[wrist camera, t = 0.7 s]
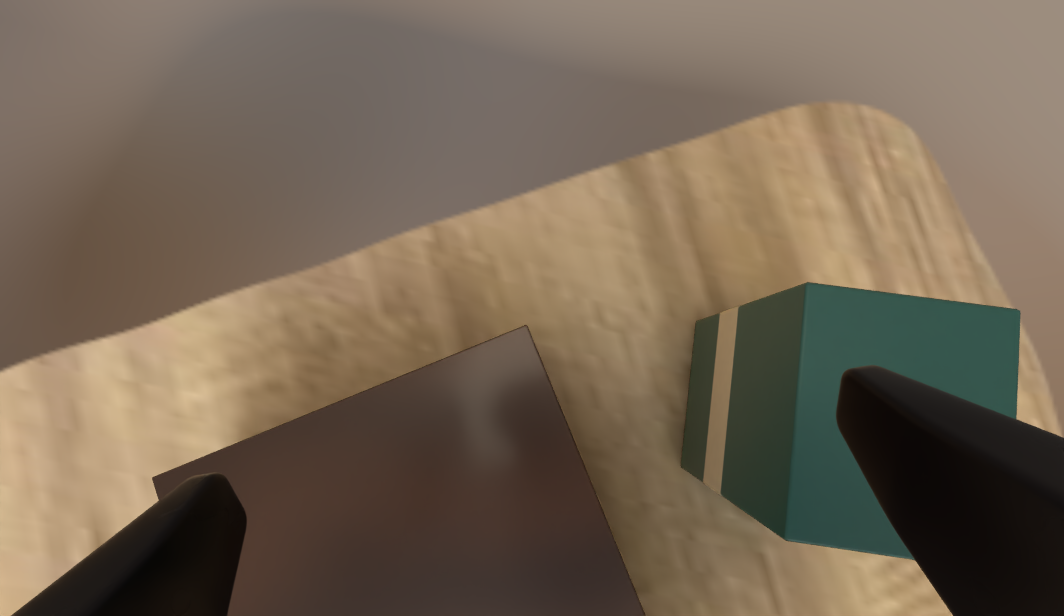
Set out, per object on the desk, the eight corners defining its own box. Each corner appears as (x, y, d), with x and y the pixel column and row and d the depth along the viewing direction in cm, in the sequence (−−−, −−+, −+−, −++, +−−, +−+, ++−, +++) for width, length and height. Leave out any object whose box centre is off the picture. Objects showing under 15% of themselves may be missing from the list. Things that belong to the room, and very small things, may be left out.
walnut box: (672, 682, 22) (704, 760, 17) (345, 820, 21) (293, 935, 17) (530, 333, 23) (526, 324, 19) (226, 457, 23) (151, 477, 19)
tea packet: (817, 336, 23) (1023, 308, 13) (805, 486, 22) (1012, 576, 12) (695, 320, 23) (805, 280, 13) (679, 468, 23) (783, 541, 13)
